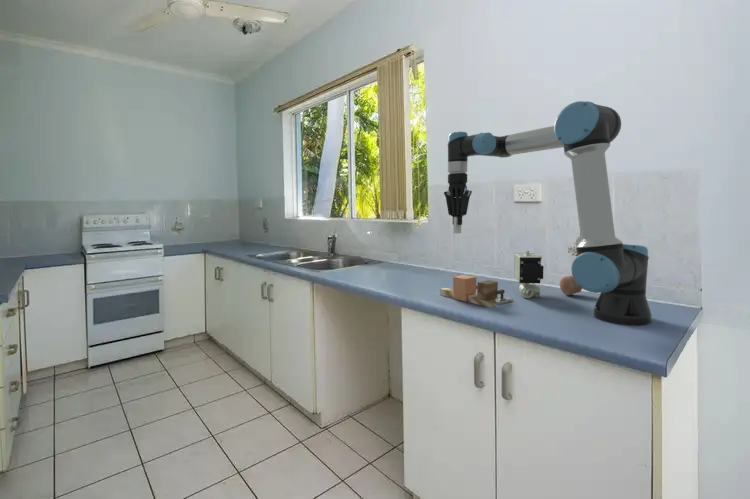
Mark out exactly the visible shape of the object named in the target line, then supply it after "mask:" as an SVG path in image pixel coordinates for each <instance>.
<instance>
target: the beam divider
mask: <svg viewBox="0 0 750 499" xmlns="http://www.w3.org/2000/svg"><path fill="white" fill-rule="evenodd" d="M498 284H499V282H498V281H495V280H490V279H487V280H483V281H476V285H477V289H476V290H477V295H474V294H468V295H467V301H466V303H470V304H473V305H479V306H482V307H487V308H494V307H496V299H497V298H498V295H500V296H501V298H503V296H504V294H505V289H498V288H499V287H498V286H499V285H498ZM439 292H440V293H439V295H440V296H443V297H448V298H451V299H454V292H453V288H452V289H451V288H448V287H442V288H439Z"/></svg>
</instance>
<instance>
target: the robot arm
mask: <svg viewBox="0 0 750 499" xmlns="http://www.w3.org/2000/svg"><path fill="white" fill-rule="evenodd" d="M621 129H622V119H621V116H620V114H619V113H618V112H617V111H616V110H615V109H613V107H609V106H605V105H601V104H597V103H594V102H592V101H583V100H582V101H580V100H579V101H574V102H572V103H569V104H568V105H566V106H565V107H564V108H562V109H561V110H560V112H559V114H558V115H557V117H556V118H555V122H554V125H551V126H547V127H541V128H536V129H532V130H526V131H521V132H516V133H513V134H507V135H502V136H498V135H493V133H492V132H479V133H476V134H472V135H471V134H470V135H468V132H466V131H455V132H451V133H449V135H448V136H447V137H448V138H447V139H448V140H447V159H448V160H447V173H448V174H447V183H448V190H446V191H444V192H443V194H444V195H443V196H445V200H446V206H447V213H448V216H451V217H452V226H453V234H456V235H457V234H461V233H462V225H463V217H464V216H467V212H468V208H469V203H470V197H471V196H472V193H473V191H472V190H469V189H468V187H467V183H468V157H474V156H485V157H498V158H510V157H511V156H513V155H520V154H521V155H522V154H526V153H527V154H528V153H534V152H540V151H545V150H546V151H547V150H553V149H561V148H563V150H564V156H566V157H567V158H569V159H570V161H571V168H572V177H573V185H574V192H575V194H574V195H575V201H576V209H577V219H578V224H579V226H578V227H579V234H580V242H578V243H577V245H576V247H575V248H576V257H575V259H574V261H572V263H571V269H570V270H571V274H572V276H573V278H574V280H575V281H576V283H577V284H578V285H579V286H581V287H582V290H584V291H587V292H590V293H592V294H593V293H595V294H599V296H598V299H597V301H596V303H595V306H594V308H593V316H594V317H595V318H596V319H598V320H600V321H603V322H608V323H612V324H619V325H625V326H642V325H643V326H644V325H648V324H651V323H652V311H651V309H650V306H649V303H648V299H647V296H646V295H647V279H648V264H649V259H650V257H649V250H648V248H647V246H644V245H640V244H639V245H638V244H626V243H625V244H624V243H623V241H622V240H620V239H619V238H617V236H616V232H615V224H614V218H613V216H614V214H613V209H612V201H611V193H610V184H609V183H610V182H609V177H608V169H607V160H606V152H607V150H608V149H610V148H609V147H611V142H613V141H615V139H616V138H617V137H618V135H620V132H621Z"/></svg>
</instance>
